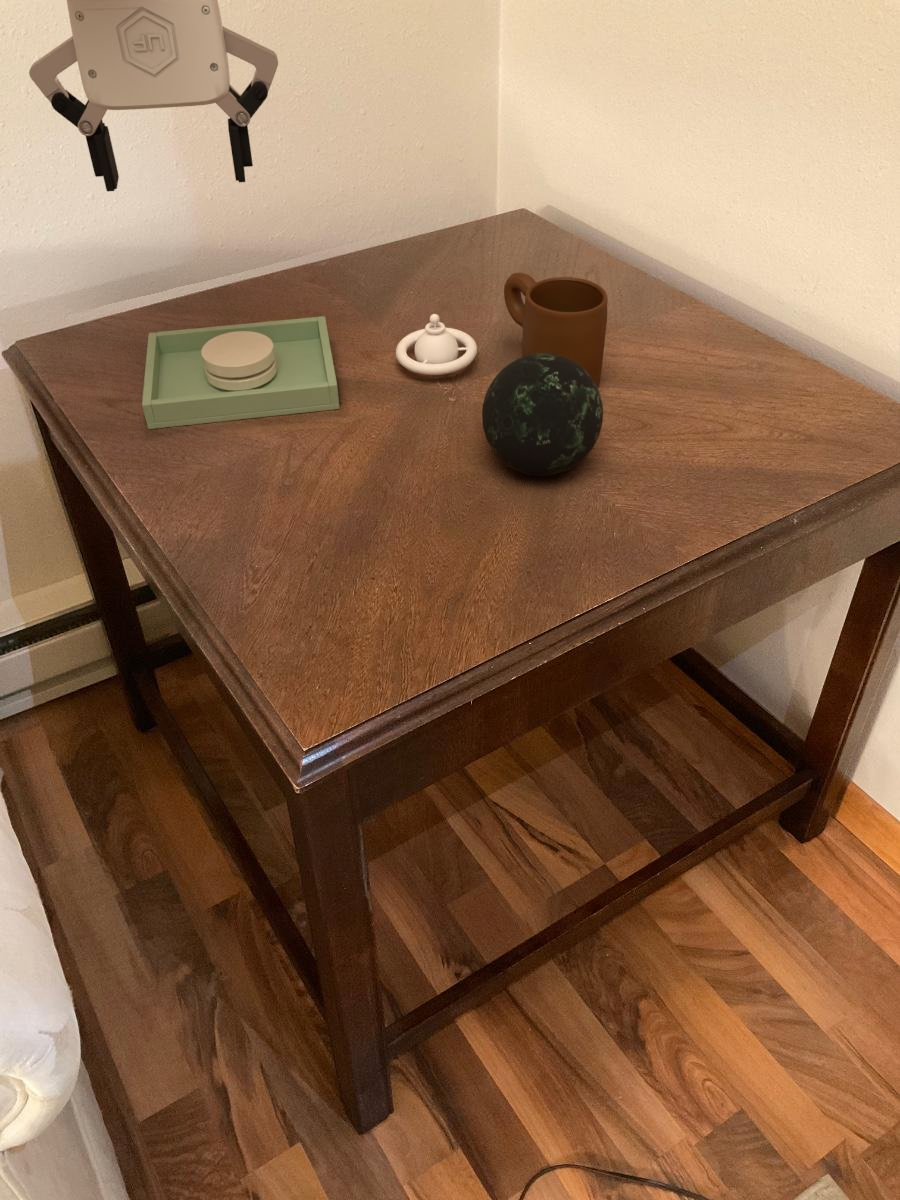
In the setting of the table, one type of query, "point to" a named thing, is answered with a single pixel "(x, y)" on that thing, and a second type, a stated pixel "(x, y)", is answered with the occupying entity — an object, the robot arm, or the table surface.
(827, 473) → the table surface
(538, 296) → the mug
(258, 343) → the beige round container
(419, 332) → the ring around a ball
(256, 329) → the tray
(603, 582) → the table surface
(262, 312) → the table surface
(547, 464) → the decorative stone
